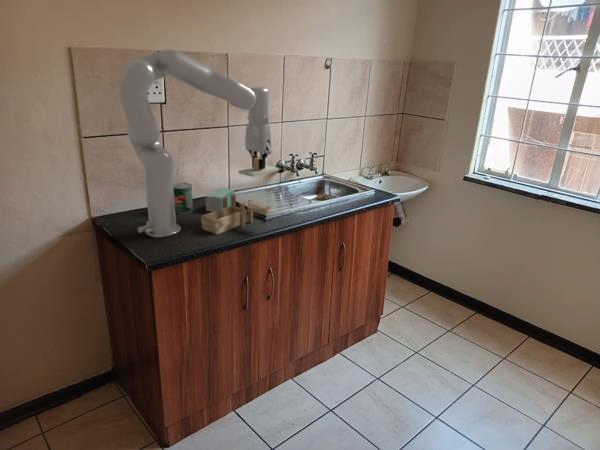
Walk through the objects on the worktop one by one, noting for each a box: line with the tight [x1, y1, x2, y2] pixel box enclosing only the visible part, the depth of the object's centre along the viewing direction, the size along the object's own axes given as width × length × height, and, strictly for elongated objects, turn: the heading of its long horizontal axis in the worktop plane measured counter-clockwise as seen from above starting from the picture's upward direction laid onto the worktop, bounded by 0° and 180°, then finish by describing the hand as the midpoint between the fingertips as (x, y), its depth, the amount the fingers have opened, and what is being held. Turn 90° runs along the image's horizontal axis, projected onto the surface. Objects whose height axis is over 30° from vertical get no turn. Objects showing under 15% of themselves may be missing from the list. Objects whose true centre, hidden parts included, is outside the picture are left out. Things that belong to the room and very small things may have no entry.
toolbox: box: [201, 194, 254, 235], centre depth 171 cm, size 18×11×10 cm, turn 143°
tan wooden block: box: [247, 200, 271, 216], centre depth 168 cm, size 2×9×3 cm, turn 53°
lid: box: [238, 156, 280, 178], centre depth 178 cm, size 16×8×6 cm, turn 143°
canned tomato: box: [173, 182, 194, 215], centre depth 187 cm, size 8×8×11 cm
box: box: [205, 188, 236, 213], centre depth 191 cm, size 7×14×8 cm, turn 163°
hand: (258, 167), depth 178 cm, fingers closed on lid, 2 cm apart
